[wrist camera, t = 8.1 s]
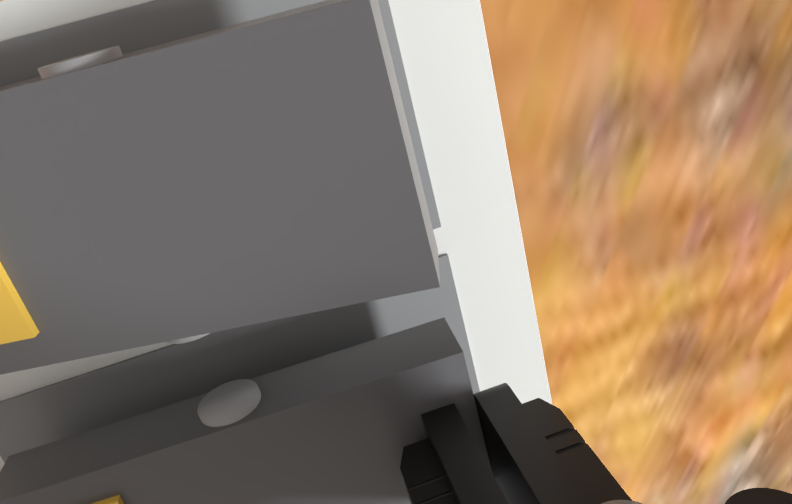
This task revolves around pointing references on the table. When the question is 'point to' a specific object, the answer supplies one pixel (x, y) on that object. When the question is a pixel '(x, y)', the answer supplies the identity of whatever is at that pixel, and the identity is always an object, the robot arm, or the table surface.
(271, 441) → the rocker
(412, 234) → the rocker
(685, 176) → the table surface
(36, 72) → the switch box
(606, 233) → the table surface
